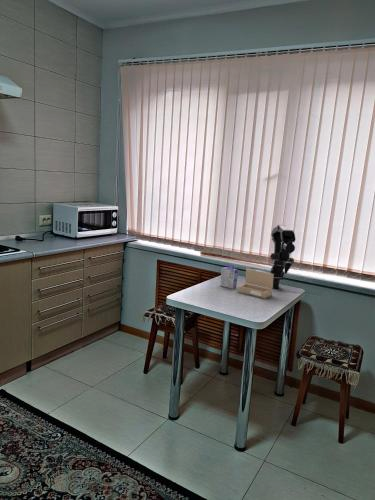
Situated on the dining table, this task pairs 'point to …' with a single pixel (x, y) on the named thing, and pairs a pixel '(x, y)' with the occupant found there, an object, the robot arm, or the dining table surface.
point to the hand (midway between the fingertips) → (282, 274)
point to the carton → (255, 291)
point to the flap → (259, 278)
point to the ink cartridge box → (229, 277)
